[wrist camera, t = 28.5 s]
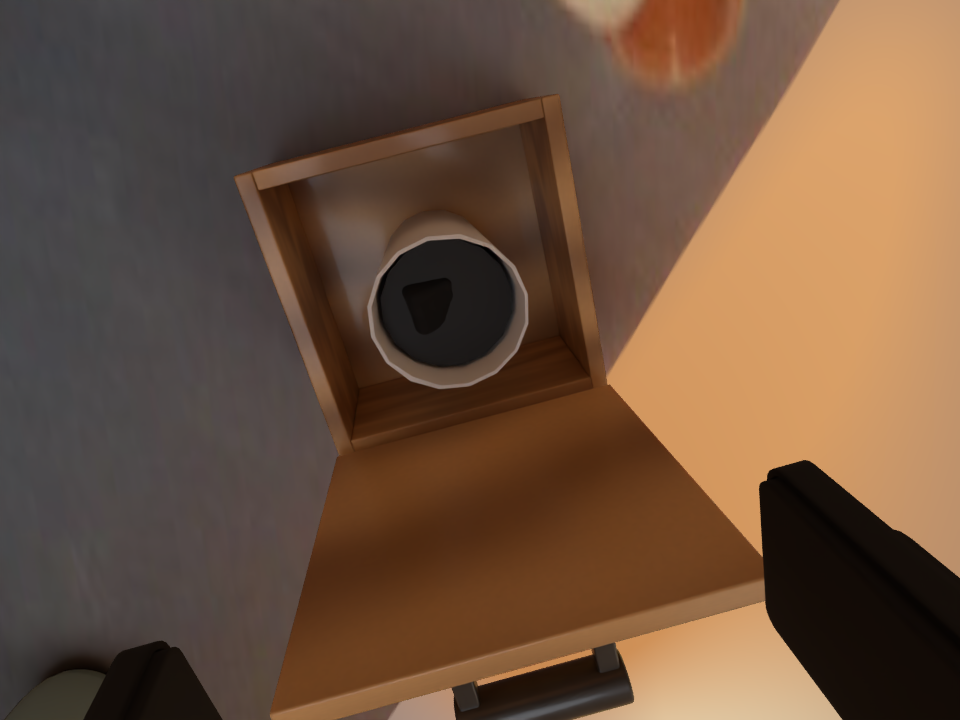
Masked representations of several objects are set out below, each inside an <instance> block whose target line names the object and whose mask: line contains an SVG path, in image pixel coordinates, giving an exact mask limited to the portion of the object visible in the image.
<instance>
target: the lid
mask: <svg viewBox="0 0 960 720" xmlns="http://www.w3.org/2000/svg"><path fill="white" fill-rule="evenodd" d="M762 601H765V586H764V568H763V557H762V556H761V555H760V554H759V553H758V552H757V551H756V549H755V548H754V547H753V546H752V545H751V544H750V543H749V542H748V541H747V539H746V538H745V537H744V536H743V535H742V534H741V532H739V530H738V529H737V528H736V527H735V526H734V525H733V523H732V522H731V521H730V520H729V519H728V518H727V517H726V515H724V513H723V512H722V511H721V510H720V509H719V508H718V507H717V506H716V504H715V503H714V502H713V501H712V500H711V499H710V497H709V496H708V495H707V494H706V493H705V492H704V491H703V490H702V488H701V487H700V486H699V485H698V484H697V483H696V482H695V481H694V479H693V478H692V477H691V476H690V475H689V474H688V473H687V471H686V470H685V469H684V468H683V467H682V466H681V465H680V463H679V462H678V461H677V460H676V459H675V458H674V457H673V456H672V454H671V453H670V452H669V451H668V450H667V449H666V448H665V447H664V445H663V444H662V443H661V442H660V441H659V440H658V439H657V438H656V436H655V435H654V434H653V433H652V432H651V431H650V430H649V429H648V427H647V426H646V425H645V424H644V423H643V422H642V421H641V419H640V418H639V417H638V416H637V415H636V414H635V413H634V411H633V410H632V409H631V408H630V407H629V406H628V405H627V404H626V402H624V400H623V399H622V398H621V397H620V396H619V395H618V393H617V392H616V391H615V390H614V389H613V388H612V387H611V385H605V386H601V387H598V388H594V389H590V390H586V391H583V392H579V393H575V394H571V395H567V396H564V397H560V398H556V399H552V400H549V401H545V402H541V403H537V404H534V405H530V406H526V407H522V408H519V409H515V410H511V411H507V412H504V413H500V414H496V415H492V416H489V417H485V418H481V419H477V420H474V421H470V422H466V423H462V424H459V425H455V426H451V427H447V428H444V429H440V430H436V431H432V432H429V433H425V434H421V435H417V436H414V437H410V438H406V439H402V440H399V441H395V442H391V443H387V444H384V445H380V446H376V447H372V448H369V449H365V450H361V451H357V452H354V453H350V454H346V455H342V456H338V457H337V459H336V463H335V467H334V471H333V475H332V478H331V482H330V486H329V490H328V494H327V497H326V501H325V505H324V509H323V513H322V516H321V520H320V524H319V528H318V532H317V536H316V539H315V543H314V547H313V551H312V555H311V558H310V562H309V566H308V570H307V574H306V577H305V581H304V585H303V589H302V593H301V596H300V600H299V604H298V608H297V612H296V615H295V619H294V623H293V627H292V631H291V634H290V638H289V642H288V646H287V650H286V654H285V657H284V661H283V665H282V669H281V673H280V676H279V680H278V684H277V688H276V692H275V695H274V699H273V703H272V707H271V711H270V717H271V719H272V720H336V719H339V718H343V717H347V716H350V715H354V714H357V713H361V712H365V711H368V710H372V709H376V708H379V707H383V706H386V705H390V704H394V703H397V702H401V701H404V700H408V699H411V698H415V697H419V696H423V695H426V694H430V693H433V692H437V691H441V690H444V689H448V688H452V690H453V693H454V710H455V717H456V720H573V719H577V718H580V717H584V716H587V715H591V714H595V713H598V712H602V711H605V710H609V709H613V708H616V707H620V706H623V705H627V704H630V703H633V702H634V696H633V691H632V687H631V683H630V680H629V676H628V673H627V670H626V667H625V665H624V662H623V659H622V657H621V655H620V653H619V651H618V650H617V649H616V644H615V642H618V641H621V640H625V639H629V638H632V637H636V636H640V635H643V634H647V633H650V632H654V631H658V630H661V629H665V628H669V627H672V626H675V625H679V624H683V623H687V622H690V621H694V620H697V619H701V618H705V617H709V616H712V615H715V614H719V613H723V612H727V611H730V610H734V609H737V608H741V607H745V606H748V605H752V604H756V603H759V602H762ZM589 649H592V653H593V655H589V656H586V657H582V658H578V659H575V660H571V661H568V662H564V663H560V664H557V665H553V666H550V667H546V668H542V669H539V670H535V671H532V672H528V673H524V674H521V675H517V676H513V677H510V678H506V679H502V680H499V681H495V682H491V683H488V684H484V685H481V686H478V685H477V682H476V681H477V680H480V679H484V678H488V677H491V676H495V675H499V674H502V673H506V672H509V671H513V670H517V669H520V668H523V667H528V666H531V665H535V664H538V663H542V662H545V661H549V660H552V659H556V658H560V657H564V656H567V655H571V654H575V653H578V652H582V651H585V650H589Z"/></svg>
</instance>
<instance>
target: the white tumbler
mask: <svg viewBox="0 0 960 720" xmlns="http://www.w3.org/2000/svg"><path fill="white" fill-rule="evenodd" d="M367 308H368V316H369V324H370V332H371V338H372V339H373V341H374V343H375V345H376V346H377V348H378V350H379V351H380V353H381V355H382V356H383V358H384V360H385V361H386V363H387V364H388V365H390V366H391V367H392V368H394V369H395V370H396V371H398V372H399V373H400V374H402V375H403V376H404V377H406V378H407V379H408V380H410V381H412V382H416V383H419V384H423V385H426V386H430V387H434V388H437V389H446V388H457V387H468V386H471V385H473V384H476V383H478V382H480V381H482V380H484V379H486V378H488V377H490V376H492V375H494V374H496V373H497V372H498V371H499V370H500V369H501V368H502V367H503V366H504V365H505V364H506V363H507V362H508V361H509V360H510V359H511V358H512V357H513V356H514V354H515V353H516V352H517V351H518V349H519V346H520V344H521V341H522V338H523V336H524V333H525V331H526V328H527V326H528V293H527V291H526V289H525V287H524V284H523V282H522V280H521V278H520V276H519V273H518V271H517V269H516V267H515V265H514V264H513V263H512V262H510V261H509V260H508V259H507V258H506V257H505V256H504V255H503V254H502V253H501V252H500V251H499V250H498V249H497V248H496V247H495V246H494V245H493V244H492V243H491V242H490V241H489V240H487V239H486V238H485V237H484V236H483V235H482V234H481V233H480V232H479V231H478V230H477V229H476V228H475V227H474V226H473V225H472V224H470V223H469V222H468V221H467V220H466V219H465V218H464V217H462V216H459V215H457V214H454V213H451V212H448V211H445V210H435V211H422V212H420V213H418V214H416V215H415V216H413V217H411V218H409V219H407V220H405V221H404V222H403V223H402V224H401V225H400V226H399V228H398V229H397V230H396V231H395V232H394V234H393V235H392V236H391V238H390V241H389V244H388V246H387V249H386V252H385V255H384V257H383V260H382V263H381V265H380V268H379V271H378V273H377V276H376V279H375V283H374V286H373V289H372V293H371V296H370V299H369V303H368V306H367Z"/></svg>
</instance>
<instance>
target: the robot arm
mask: <svg viewBox="0 0 960 720" xmlns="http://www.w3.org/2000/svg"><path fill="white" fill-rule="evenodd" d="M759 495H760V512H761V513H760V514H761V531H762V549H763V568H764V586H765V603H766V610H767V613H768V616H769V618H770V620H771V622H772V624H773V626H774V628H775V629H776V631H777V632H778V633H779V635H780V636H781V637H782V639H783V640H784V642H785V643H786V644H787V646H788V647H789V648H790V650H791V651H792V652H793V654H794V655H795V656H796V658H797V659H798V660H799V662H800V663H801V664H802V666H803V667H804V668H805V670H806V671H807V672H808V674H809V675H810V677H811V678H812V679H813V680H814V682H815V683H816V685H817V686H818V687H819V688H820V690H821V691H822V693H823V694H824V695H825V697H826V698H827V699H828V701H829V702H830V703H831V705H832V706H833V707H834V709H835V710H836V712H837V713H838V714H839V716H840V717H841V718H842V720H960V578H959V577H958V576H956V575H955V574H954V573H953V572H951V571H950V570H949V569H948V568H947V567H946V566H944V565H943V564H942V563H941V562H939V561H938V560H937V559H936V558H934V557H933V556H932V555H931V554H930V553H928V552H927V551H926V550H925V549H924V548H922V547H921V546H920V545H919V544H917V543H916V542H915V541H914V540H913V539H911V538H910V537H908V536H907V535H905V534H903V533H902V532H900V531H897V530H893V529H892V528H891V527H889V526H888V525H887V524H886V523H885V522H883V521H882V520H881V519H880V518H879V517H877V516H876V515H875V514H874V513H873V512H871V511H870V510H869V509H868V508H867V507H865V506H864V505H863V504H862V503H860V502H859V501H858V500H857V499H856V498H854V497H853V496H852V495H851V494H850V493H848V492H847V491H846V490H845V489H844V488H842V487H841V486H840V485H839V484H837V483H836V482H835V481H834V480H833V479H831V478H830V477H829V476H828V475H827V474H826V473H824V472H823V471H822V470H821V469H819V468H818V467H817V466H816V465H815V464H813V463H811V462H810V461H806V460H803V461H799V462H796V463H793V464H789V465H785V466H782V467H778V468H775V469H772V470H770V471H769V473H768V475H767V481H764V482H762V483H760V486H759ZM83 720H222V718H221V717H220V715H219V713H218V712H217V710H216V708H215V707H214V705H213V703H212V702H211V700H210V698H209V696H208V695H207V693H206V691H205V690H204V688H203V686H202V685H201V683H200V681H199V680H198V678H197V676H196V675H195V673H194V671H193V670H192V668H191V666H190V665H189V663H188V661H187V660H186V658H185V656H184V655H183V653H182V652H181V650H180V649H179V648H177V647H172V648H170V646H169V645H168V644H167V643H166V642H164V641H156V642H153V643H149V644H146V645H142V646H139V647H135V648H131V649H128V650H124V651H122V652H121V653H119V654H118V655H117V656H116V658H115V659H114V661H113V662H112V664H111V666H110V668H109V670H108V672H107V674H106V676H105V678H104V680H103V682H102V684H101V686H100V688H99V690H98V692H97V694H96V696H95V698H94V700H93V701H92V703H91V705H90V707H89V709H88V711H87V713H86V715H85V717H84V719H83Z"/></svg>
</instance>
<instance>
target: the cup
mask: <svg viewBox="0 0 960 720" xmlns="http://www.w3.org/2000/svg"><path fill="white" fill-rule="evenodd" d="M105 676H106V675H105V674H103V673H100V672H97V671H94V670H87V669H73V670H67V671H64V672H61V673H58V674H55V675H53V676H51V677H49V678H48V679H46V680H44V681H42V682H41V683H40V684H38V685H37V686H36V687H35V688H33V689H32V690H31V691H30V692H29V693H27V694H26V695H25V696H24V697H23V698H22V699H21V700H20V701H19V702H18V704H17V705H16V706H15V707H14V708H13V709H12V711H11V712H10V713H9V714H8V715H7V717H6V718H5V719H4V720H83V719H84V717H85V715H86V713H87V711H88V709H89V707H90V705H91V703H92V701H93V700H94V698H95V696H96V694H97V692H98V690H99V688H100V686H101V684H102V682H103V680H104V678H105Z"/></svg>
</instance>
